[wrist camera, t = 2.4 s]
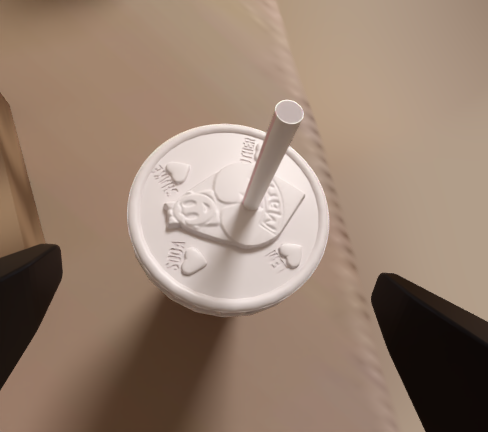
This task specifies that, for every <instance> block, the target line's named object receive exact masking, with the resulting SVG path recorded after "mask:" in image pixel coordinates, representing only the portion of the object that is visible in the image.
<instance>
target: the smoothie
mask: <svg viewBox="0 0 488 432" xmlns="http://www.w3.org/2000/svg"><path fill="white" fill-rule="evenodd" d="M303 116H304V112H303V109H302V108H301V106H300V105H299V104H298V103H296V102H294V101H291V100H283V101H281V102H279V103H278V104H277V105H276V108H275V110H274V113H273V116H272V119H271V122H270V124H269V127H268V130H267V133H266V132H263V131H261V130H258V129H255V128H251V127H247V126H242V125H234V124H213V125H205V126H201V127H196V128H193V129H190V130H187V131H184V132H182V133H180V134H178V135H176V136H174V137H172V138H170V139H169V140H167V141H166V142H164V143H163V144H162V145H160V146H159V147H158V148H157V149H156V150H155V151H154V152H153V153H152V154H151V155H150V156H149V157H148V158H147V159H146V160H145V162H144V163H143V165H142V166H141V168H140V169H139V171H138V173H137V175H136V176H135V179H134V181H133V184H132V186H131V190H130V193H129V199H128V205H127V223H128V229H129V234H130V238H131V242H132V244H133V248H134V252H135V256H136V258H137V260H138V262H139V263H140V265H141V267H142V268H143V270H144V272H145V273H146V275H147V277H148V278H149V280H150V281H151V282H152V283H153V284H154V285H155V286H156V287H157V288H158V289H160V290H161V291H162V292H163V293H164V294H165V295H166V296H167V297H168V298H169V299H171V300H173V301H175V302H177V303H179V304H181V305H183V306H184V307H186V308H188V309H190V310H192V311H194V312H198V313H203V314H208V315H213V316H218V317H235V316H248V315H253V314H256V313H258V312H261V311H264V310H266V309H269V308H272V307H274V306H277V305H278V304H279V303H281V302H282V301H283V300H285V299H286V298H287V297H289V296H290V295H291V294H293V293H294V292H295V291H297V290H298V289H299V288H300V287H301V286H302V285H303V284H304V283H305V282H306V281H307V280H308V279H309V278H310V276H311V275H312V274H313V272H314V271H315V269H316V268H317V266H318V264H319V262H320V260H321V258H322V256H323V254H324V251H325V248H326V244H327V240H328V233H329V211H328V205H327V201H326V197H325V194H324V191H323V189H322V186H321V184H320V182H319V180H318V178H317V176H316V175H315V173H314V171H313V170H312V169H311V167H310V166H309V165H308V163H307V162H306V161H305V160H304V159H303V158H302V157H301V156H300V155H299V154H298V153H297V152H296V151H295V150H294V149H293V148H291V147H290V146H289V145H290V143H291V141H292V139H293V137H294V135H295V133H296V131H297V129H298V127H299V125H300V123H301V121H302V119H303Z"/></svg>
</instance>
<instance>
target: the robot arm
mask: <svg viewBox="0 0 488 432" xmlns="http://www.w3.org/2000/svg"><path fill="white" fill-rule="evenodd" d="M62 274H63V270H62V259H61V250H60V247H59V246H58V245H55V244H44V243H43V244H38V245H35V246H33V247H30V248H27V249H24V250H21V251H18V252H15V253H12V254H10V255H7V256H4V257H1V258H0V390H1V388H2V387H3V385H4V384H5V382H6V380H7V379H8V377H9V375H10V374H11V372H12V371H13V369H14V367H15V366H16V364H17V363H18V361H19V359H20V358H21V356H22V355H23V353H24V351H25V350H26V348H27V346H28V345H29V343H30V342H31V340H32V338H33V337H34V335H35V333H36V332H37V330H38V328H39V326H40V324H41V322H42V320H43V318H44V316H45V314H46V311H47V309H48V307H49V305H50V303H51V301H52V299H53V296H54V294H55V292H56V290H57V288H58V286H59V284H60V282H61V279H62ZM371 302H372V306H373V308H374V312H375V315H376V318H377V321H378V324H379V326H380V329H381V332H382V335H383V338H384V340H385V343H386V346H387V349H388V351H389V354H390V356H391V358H392V360H393V362H394V365H395V367H396V369H397V371H398V373H399V375H400V377H401V379H402V382H403V384H404V386H405V388H406V390H407V392H408V395H409V397H410V399H411V401H412V403H413V406H414V408H415V410H416V412H417V414H418V416H419V419H420V421H421V423H422V425H423V427H424V429H425V431H426V432H488V322H487V321H485V320H483V319H481V318H479V317H477V316H475V315H474V314H472V313H470V312H468V311H466V310H464V309H462V308H460V307H458V306H456V305H454V304H452V303H451V302H449V301H447V300H445V299H443V298H441V297H439V296H437V295H435V294H433V293H431V292H429V291H427V290H426V289H424V288H422V287H420V286H417V285H416V284H414V283H412V282H410V281H408V280H406V279H404V278H403V277H401V276H399V275H397V274H394V273H381V274H380V275H379V277H378V279H377V281H376V284H375V287H374V290H373V292H372V296H371Z"/></svg>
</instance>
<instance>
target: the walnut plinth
mask: <svg viewBox="0 0 488 432" xmlns="http://www.w3.org/2000/svg"><path fill="white" fill-rule="evenodd" d="M43 243H44V244H46V243H45V240H44V236H43V232H42V228H41V224H40V220H39V217H38V213H37V209H36V205H35V201H34V197H33V194H32V190H31V186H30V182H29V178H28V175H27V171H26V167H25V163H24V159H23V155H22V152H21V148H20V144H19V140H18V136H17V132H16V129H15V125H14V121H13V117H12V113H11V110H10V106H9V104H8V102H7V101H6V100H5V98H4V97H3V96H2V94H1V93H0V258H1V257H4V256H7V255H10V254H12V253H15V252H18V251H21V250H24V249H27V248H30V247H33V246H35V245H38V244H43Z"/></svg>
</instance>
